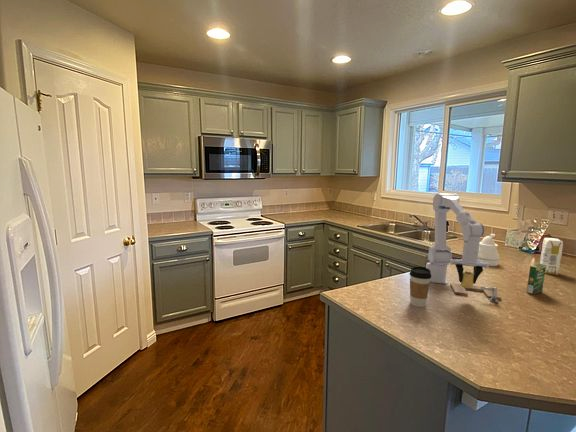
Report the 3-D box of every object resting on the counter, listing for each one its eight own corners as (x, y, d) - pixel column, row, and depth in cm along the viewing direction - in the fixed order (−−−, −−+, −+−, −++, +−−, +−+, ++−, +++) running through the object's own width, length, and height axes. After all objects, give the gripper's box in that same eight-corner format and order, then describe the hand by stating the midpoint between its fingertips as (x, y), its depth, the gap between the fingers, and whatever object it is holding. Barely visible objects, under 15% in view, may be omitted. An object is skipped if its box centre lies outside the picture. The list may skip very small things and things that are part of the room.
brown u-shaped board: (455, 294, 143) (455, 292, 143) (450, 285, 154) (450, 282, 154) (501, 300, 137) (501, 297, 137) (492, 290, 149) (492, 287, 149)
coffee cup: (427, 301, 134) (431, 267, 132) (429, 309, 126) (433, 273, 124) (406, 298, 137) (409, 265, 135) (407, 306, 129) (410, 271, 127)
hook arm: (480, 300, 137) (482, 287, 136) (478, 297, 140) (480, 284, 139) (498, 302, 135) (500, 289, 134) (496, 300, 138) (497, 286, 137)
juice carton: (542, 273, 175) (548, 240, 173) (537, 269, 183) (542, 237, 180) (559, 275, 173) (565, 241, 170) (553, 271, 181) (558, 238, 178)
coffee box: (532, 295, 144) (536, 267, 142) (525, 292, 147) (529, 265, 145) (542, 292, 148) (546, 265, 146) (535, 290, 150) (539, 263, 148)
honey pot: (497, 262, 196) (501, 233, 193) (498, 267, 185) (502, 237, 183) (473, 258, 203) (477, 230, 200) (472, 263, 192) (476, 234, 189)
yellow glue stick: (461, 287, 135) (463, 273, 134) (459, 283, 139) (461, 269, 138) (473, 288, 133) (475, 274, 132) (471, 285, 138) (472, 270, 137)
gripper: (453, 252, 132) (450, 283, 134) (493, 255, 128) (489, 287, 130) (450, 248, 139) (447, 277, 141) (488, 251, 135) (484, 281, 137)
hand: (467, 282), depth 136 cm, fingers closed on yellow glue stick, 4 cm apart
